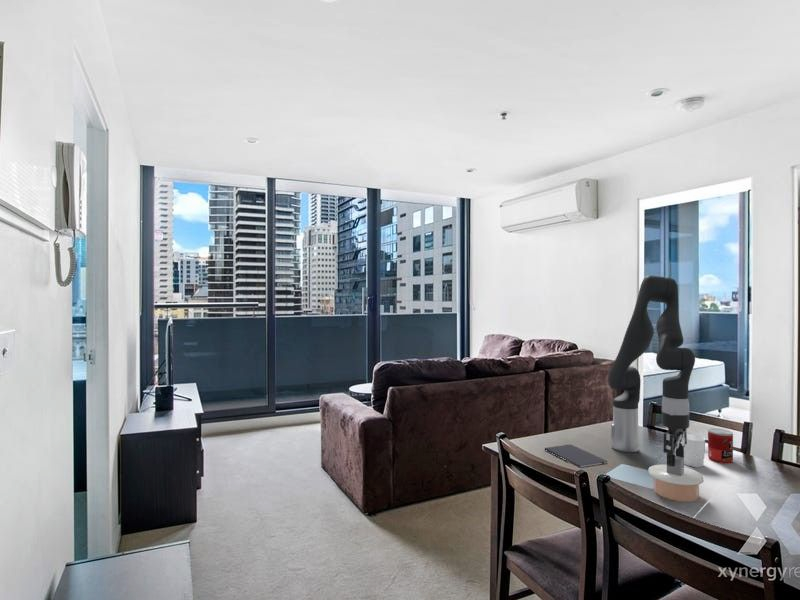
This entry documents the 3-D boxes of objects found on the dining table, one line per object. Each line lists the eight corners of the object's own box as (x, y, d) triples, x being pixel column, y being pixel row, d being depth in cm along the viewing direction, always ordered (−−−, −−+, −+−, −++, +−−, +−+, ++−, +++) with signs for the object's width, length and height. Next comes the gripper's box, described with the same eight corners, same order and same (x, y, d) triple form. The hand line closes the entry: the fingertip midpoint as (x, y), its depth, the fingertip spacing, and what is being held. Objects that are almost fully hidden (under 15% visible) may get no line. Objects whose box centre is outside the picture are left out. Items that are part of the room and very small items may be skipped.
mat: (603, 476, 164) (603, 475, 164) (621, 464, 175) (621, 463, 175) (652, 490, 152) (652, 489, 152) (669, 476, 163) (669, 475, 163)
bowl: (648, 494, 149) (648, 475, 149) (661, 483, 158) (661, 465, 158) (691, 506, 141) (691, 486, 141) (702, 494, 149) (702, 475, 149)
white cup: (709, 468, 170) (709, 441, 170) (685, 467, 172) (685, 439, 172) (700, 461, 178) (699, 434, 178) (677, 459, 179) (676, 433, 179)
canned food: (725, 465, 173) (725, 435, 173) (703, 458, 180) (703, 429, 180) (737, 461, 177) (737, 432, 177) (715, 455, 184) (715, 427, 184)
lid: (641, 475, 150) (640, 457, 149) (658, 463, 160) (658, 446, 160) (694, 489, 139) (694, 469, 138) (709, 475, 149) (709, 457, 149)
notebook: (544, 451, 192) (580, 470, 172) (544, 447, 192) (579, 465, 172) (570, 447, 196) (608, 465, 176) (570, 444, 196) (608, 461, 176)
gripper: (669, 405, 156) (669, 454, 157) (654, 413, 147) (654, 465, 147) (695, 409, 151) (695, 459, 151) (681, 417, 141) (681, 471, 141)
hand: (675, 462), depth 149 cm, fingers open, 8 cm apart
